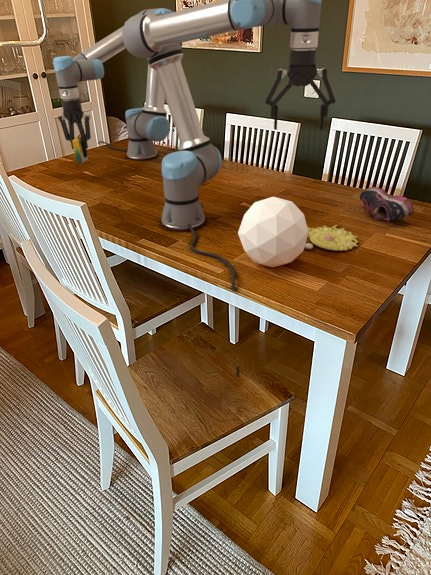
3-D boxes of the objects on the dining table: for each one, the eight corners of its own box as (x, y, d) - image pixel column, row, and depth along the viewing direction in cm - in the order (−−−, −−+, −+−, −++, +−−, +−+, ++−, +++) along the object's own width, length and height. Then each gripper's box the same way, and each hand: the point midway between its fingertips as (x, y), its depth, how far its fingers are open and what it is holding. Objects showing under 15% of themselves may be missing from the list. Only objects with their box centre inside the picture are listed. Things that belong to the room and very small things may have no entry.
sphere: (280, 289, 130) (288, 262, 111) (225, 253, 134) (224, 221, 116) (315, 241, 135) (328, 208, 116) (260, 208, 139) (265, 171, 121)
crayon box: (81, 158, 198) (77, 131, 191) (88, 158, 197) (83, 131, 191) (76, 163, 192) (70, 136, 185) (82, 163, 191) (77, 136, 185)
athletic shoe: (369, 185, 163) (343, 194, 159) (416, 181, 144) (388, 190, 140) (374, 215, 166) (349, 224, 162) (420, 215, 146) (393, 225, 143)
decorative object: (343, 255, 128) (285, 234, 139) (342, 262, 130) (284, 241, 140) (372, 230, 142) (317, 213, 152) (371, 237, 143) (316, 219, 153)
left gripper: (47, 101, 178) (60, 159, 191) (86, 100, 177) (96, 158, 190) (55, 97, 185) (67, 154, 197) (92, 97, 183) (102, 153, 196)
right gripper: (258, 51, 121) (256, 131, 132) (351, 49, 119) (341, 131, 130) (258, 49, 127) (256, 125, 138) (347, 47, 125) (337, 125, 136)
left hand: (81, 156), depth 193 cm, fingers closed on crayon box, 3 cm apart
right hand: (297, 128), depth 134 cm, fingers open, 13 cm apart
